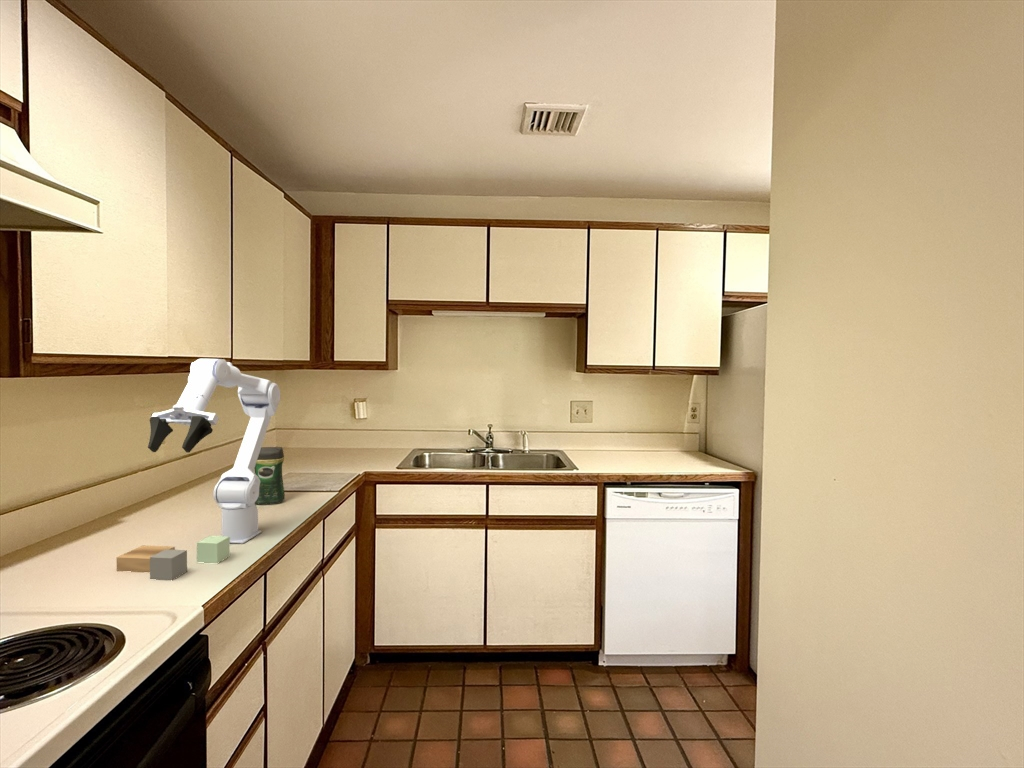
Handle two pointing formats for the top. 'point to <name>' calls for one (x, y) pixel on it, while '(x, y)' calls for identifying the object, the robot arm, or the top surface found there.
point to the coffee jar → (270, 475)
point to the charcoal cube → (168, 564)
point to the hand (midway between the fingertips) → (168, 449)
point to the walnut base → (139, 558)
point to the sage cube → (213, 549)
